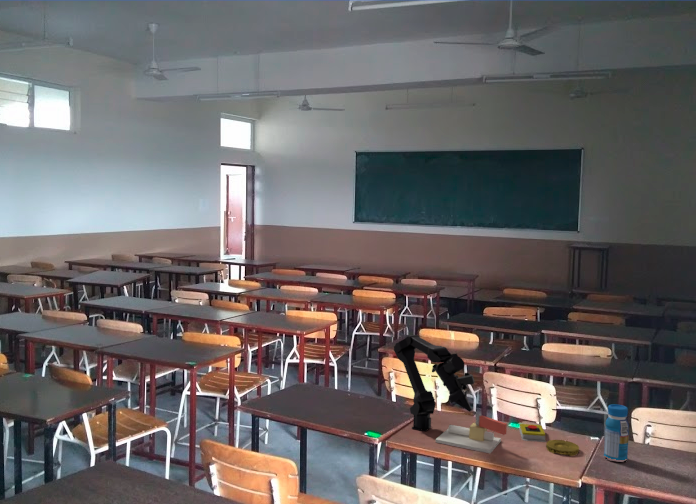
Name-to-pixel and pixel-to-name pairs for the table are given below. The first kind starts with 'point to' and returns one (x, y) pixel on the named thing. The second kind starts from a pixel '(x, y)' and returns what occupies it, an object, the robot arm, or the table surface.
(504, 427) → the lever
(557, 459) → the table surface
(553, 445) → the olive round disc
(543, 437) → the emergency button
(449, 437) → the board
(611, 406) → the beverage bottle
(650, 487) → the table surface
